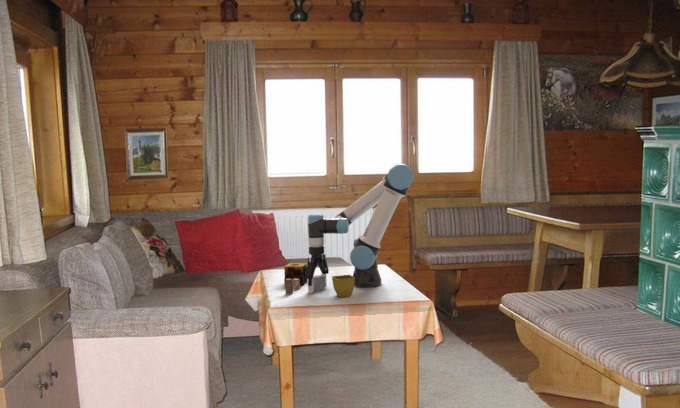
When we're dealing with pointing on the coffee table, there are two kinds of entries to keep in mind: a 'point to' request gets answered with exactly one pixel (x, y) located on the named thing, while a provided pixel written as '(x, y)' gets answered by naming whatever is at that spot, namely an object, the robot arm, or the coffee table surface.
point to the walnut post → (289, 286)
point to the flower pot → (343, 285)
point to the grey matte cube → (319, 283)
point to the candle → (296, 272)
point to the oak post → (296, 284)
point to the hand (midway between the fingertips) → (317, 289)
